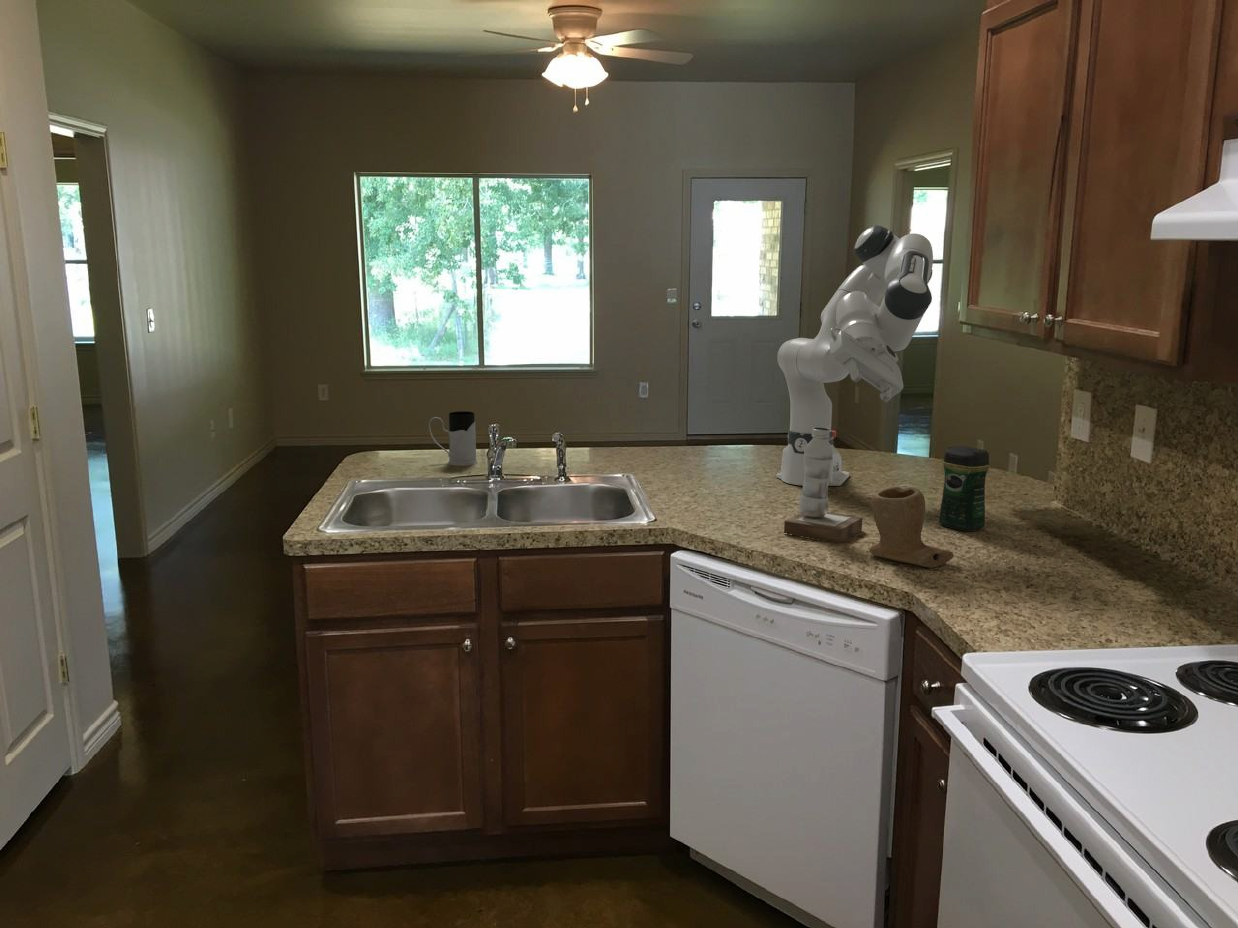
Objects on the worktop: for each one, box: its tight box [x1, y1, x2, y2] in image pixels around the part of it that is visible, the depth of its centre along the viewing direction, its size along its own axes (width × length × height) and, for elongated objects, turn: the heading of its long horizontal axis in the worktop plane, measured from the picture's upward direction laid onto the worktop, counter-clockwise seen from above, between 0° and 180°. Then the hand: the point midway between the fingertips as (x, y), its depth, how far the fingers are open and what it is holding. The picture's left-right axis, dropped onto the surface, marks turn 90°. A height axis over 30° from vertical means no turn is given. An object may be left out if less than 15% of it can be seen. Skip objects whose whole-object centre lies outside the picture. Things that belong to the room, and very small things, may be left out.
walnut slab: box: [783, 511, 863, 544], centre depth 217 cm, size 13×13×3 cm
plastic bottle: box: [798, 427, 834, 517], centre depth 216 cm, size 6×7×20 cm
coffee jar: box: [938, 445, 990, 532], centre depth 221 cm, size 10×8×19 cm
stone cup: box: [868, 486, 954, 569], centre depth 195 cm, size 15×12×15 cm
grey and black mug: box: [428, 410, 479, 467], centre depth 290 cm, size 9×14×15 cm, turn 89°
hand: (871, 389), depth 209 cm, fingers open, 8 cm apart
